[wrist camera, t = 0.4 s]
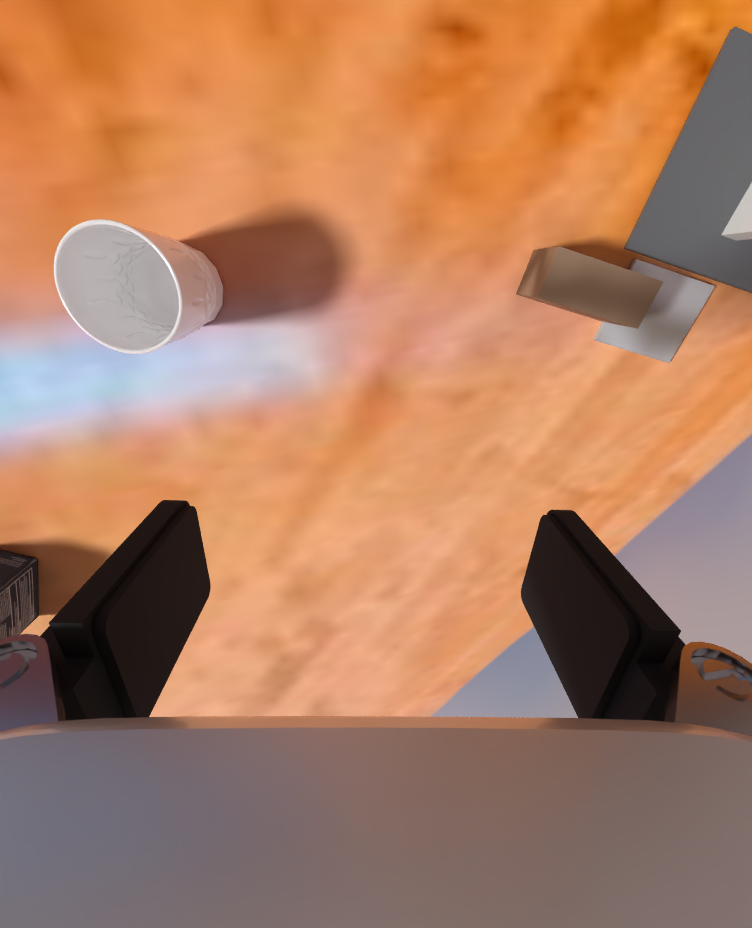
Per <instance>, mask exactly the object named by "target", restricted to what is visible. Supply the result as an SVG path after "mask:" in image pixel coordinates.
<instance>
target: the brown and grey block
mask: <svg viewBox="0 0 752 928" xmlns="http://www.w3.org/2000/svg"><path fill="white" fill-rule="evenodd" d="M714 287H715V286H713V285H710V284H707V283H705V282H702V281H699V280H696V279H693V278H690V277H687V276H684V275H681V274H678V273H676V272H673V271H670V270H667V269H664V268H661V267H658V266H655V265H652V264H649V263H647V262H644V261H641V260H638V259H634V260H633V262H632V264H631V266H630V268H629V270H628V269H625V268H622V267H619V266H616V265H613V264H610V263H607V262H604V261H601V260H599V259H596V258H593V257H590V256H587V255H584V254H581V253H578V252H575V251H572V250H569V249H566V248H563V247H560V246H558V247H551V248H545V249H538V250H534V251H533V253H532V256H531V258H530V261H529V263H528V266H527V268H526V271H525V273H524V276H523V278H522V281H521V283H520V286H519V288H518V291H517V293H516V294H517V295H520V296H523V297H526V298H529V299H533V300H536V301H539V302H542V303H545V304H549V305H552V306H555V307H558V308H561V309H564V310H568V311H571V312H574V313H577V314H580V315H583V316H587V317H590V318H593V319H596V320H599V321H602V324H601V326H600V328H599V329H598V331H597V333H596V335H595V337H594V339H593V340H595V341H599V342H602V343H605V344H608V345H612V346H615V347H618V348H621V349H625V350H628V351H631V352H634V353H638V354H641V355H644V356H647V357H651V358H654V359H657V360H661V361H664V362H667V363H669V362H670V361H671V359H672V357H673V356H674V354H675V352H676V351H677V349H678V347H679V346H680V344H681V342H682V341H683V339H684V337H685V336H686V334H687V332H688V331H689V329H690V327H691V326H692V324H693V322H694V321H695V319H696V317H697V316H698V314H699V312H700V311H701V309H702V307H703V306H704V304H705V302H706V301H707V299H708V297H709V296H710V294H711V292H712V291H713V289H714Z"/></svg>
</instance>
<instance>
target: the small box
mask: <svg viewBox="0 0 752 928" xmlns="http://www.w3.org/2000/svg"><path fill="white" fill-rule="evenodd" d="M38 616H39V607H38V570H37V559H35V558H31V557H26V556H22V555H18V554H14V553H10V552H6V551H2V550H0V639H3V638H7V637H10V636H14V635H19V634H20V633H21V632H22V631H23V630H24V629H26V627H28V626H29V625H30V624H31V623H32V622H33V621H34V620H35V619H36V618H37V617H38Z"/></svg>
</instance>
